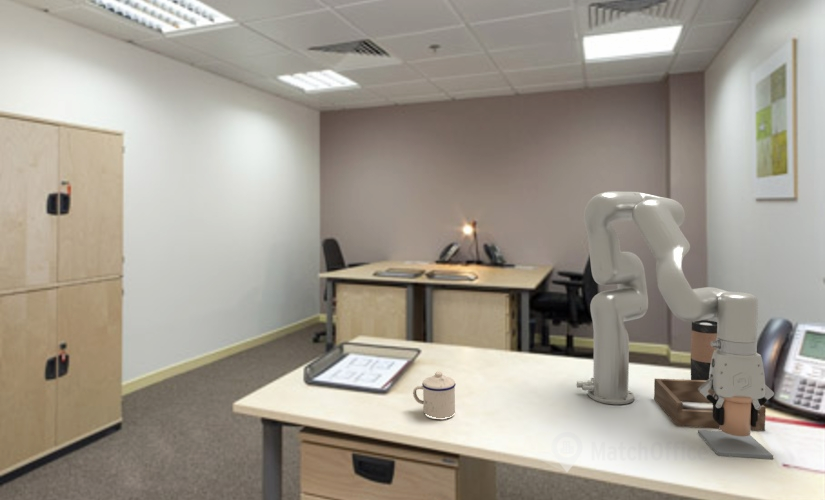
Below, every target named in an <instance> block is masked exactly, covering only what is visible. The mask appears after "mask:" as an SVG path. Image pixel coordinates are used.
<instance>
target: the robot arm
mask: <svg viewBox="0 0 825 500" xmlns="http://www.w3.org/2000/svg"><path fill="white" fill-rule="evenodd" d="M685 219H686V213H685V209H684V207H683V205H682V204H681V203H680V202H678V201H677V200H676V199H672V198H669V197H662V196H658V195H653V194H649V193H644V192H640V191H604V192H601V193H598V194H595V195H594V196H593V197H591V198H590V199H589V200H588V201H587V203H586V205H585V208H584V211H583V224H584V228H585V232H586V236H587V237H586V238H587V242H588V253H589V262H590V269H591V276H592V278H593V281H594V282H595V283H596V284H598V285H599V286H600V285H601V286H616V287H617V288H616V289H615V288H614V289H608V290H604V291H601V292H598V293H597V294H595V295H594V296H593V297H592V299H591V301H590V304H589V306H590V307H589V310H590V316H591V320H592V328H593V329H592V331H593V369H592V370H593V376H592V377H591V378H590V380H587V381H582V380H577V381H576V387H577V388H579V389H582V390H583V391H587V396H589V397H590V398H591V399H592V400H594V401H596V402H599V403H603V404H608V405H627V404H631V403H632V402H634V400H635V395H634V393H633V392H631V391H630V390H629V374H630V373H629V371H630V370H629V367H630V366H629V364H630V363H629V360H630V359H629V357H630V355H629V354H630V337H629V334H628V333H629V332H628V331H627V329H626V325H625V323H624V322H628V321H634V320H637V319H640V318H643V317H644V316H645V315H646V313H647V311H648V308H649V296H648V287H647V280H646V273H645V272H646V271H645V267H644V263H643V262H642V260H641V259H640V257H639V256H638V255H637V254H635V253H634V252H631V251H622V250H621V246H620V245H621V244H620V242H621V241H620V238H619V234H618V232H617V229H615V227H614V225H613V223H614V222H633V223H634V224H635V226H636V228H637V230H638V232H639V233H640V235H641V236H642V239H643V240H644V241H645V244H646V245H647V247H648V248H649V250H650V251H651V254H652V255H653V257H654V259H655V261H656V264H655V276H656V278H655V279H656V284H657V288H658V290H659V293H660V295H661V296H662V298H663V300H664V301H665V303H666V305H667V307H668V309H669V310H670V311H671V313H672V314H673V315H674V316H675V317H677V319H679V320H680V321H683V322H688V323H692V322H696V321H701V320H712V319H717V321H716V322H717V337H716V341H711V347H715V348H716V349H717V350H714V352H713V356H712V360H711V365H710V372H709V379H708V380H707V381H706V382H705V383H704V384H702V385H701V386H700V387H699V388H698V391H699V392H700V393H701V394H703V395H704V396H705V397H706V398H707V399H708V400H709V401H710V402H711V403H710V404H712V411H713V419H714V420H715V421H716V422H717V423H718V424H719V425H724V409H723V408H722V404H723V402H724V399H723V398H732V397H751V399H753V402H751V426H752V427H756V422H757V421H758V410H759V409H760V408H761V406H762V405H764V404H766V403H767V401H768V400H770V399H771V398H772V397H773V396H775V392H774V391H773V389H771V388H769V386H767V384H766V379H765V378H766V377H765V370H764V369H765V368H764V363H763V358H762V355H761V354H760V353H758V352H757V350H758V349H757V347H758V318H759V317H758V315H759V314H758V309H759V301H758V298H757V296H756V295H754V294H752V293H750V292H741V291H730V290H729V291H728V290H724V289H722V288H717V287H712V286H707V287H706V286H705V287H698V288H692V286H691V285H690V283H689V281H688V280H687V278H686V276H685V273H684V272H683V271H684V270H683V265H682V264H683V259H684V257H685V256H686V255H687V254H688V253H689V252H690V249H691V244H690V242H689V241H688V239H687V238H686V236H685V235H684V233H683V232H682V230H681V228H680V227H681V226H682V225H683V223H684V222H685ZM709 389H710V390H712V391H714V394H713V396H712V395H710V394H709V393H708V390H709Z"/></svg>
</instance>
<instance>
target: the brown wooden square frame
mask: <svg viewBox="0 0 825 500" xmlns="http://www.w3.org/2000/svg"><path fill="white" fill-rule="evenodd" d="M706 381H707V380H691V379H675V378H654V385H653V386H654V389H653V390H654V392H653V393H654V394H653V395H654V396H653V399H654V400H655V402H656V403H657V404H658V405H659V406H660V407H661V409H662V410H663V412H665V413H666V415H667V416H668V417H669V419H671V421H672V422H673V423H674V425H676V426H677V427H687V428H689V427H692V428H707V429H709V428H710V429H719V424H718V423H717V422H716V421H715V420H714V419H713V409H712V410H709V409H707V410H706V409H687V408H685V409H684V407H683V406H684V405H683V402H689V403H706V404H707V403H708V404H709V403H710V404H712V403H711V402H710V401H709V400H708V399H707V398H706V397H705V396H704V395H703V394H701V393H700V392H699V391H698V388H699V387H700V386H701V385H702V384H704V383H705V382H706ZM708 393H709V394H710V395H712V396H713V394H714V391H712V390H710V389H709V390H708ZM766 409H767V408H766V406H765V405H764V404H763V405H762V406H761V408H760V409H759V410H758V421H757V422H756V427H752V426H751V430H750V431H763V432H764V431H766V412H767V411H766Z"/></svg>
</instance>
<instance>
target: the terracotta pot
mask: <svg viewBox="0 0 825 500" xmlns="http://www.w3.org/2000/svg"><path fill="white" fill-rule="evenodd" d="M723 399H724V402H723V404H722V408H723V409H724V425H719V428H718V429H719V430H720V431H723V432H725V433H727V434H730V435H734V436H749V435H751V431H752V430H751V402H753V399H751V397H732V398H723Z"/></svg>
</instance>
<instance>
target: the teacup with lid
mask: <svg viewBox="0 0 825 500" xmlns="http://www.w3.org/2000/svg"><path fill="white" fill-rule="evenodd" d="M417 390H423V391H422V392H423V393H422V395H423V396H422V397H423V400H422V399H420V398H419V397H418V394H417ZM455 391H456V381H455V380H454V379H453V378H451V377H449V376H446V375H443V372H442V371H435V373H434V375H432V376H429V377H427V378H425V379H423V380H422V385H418V386H416V387H415V388H414V389H413V391H412V394H413V398H414V400H415V402H417V403H418V404H420V405H423V414H424V413H425V414H427V415H429V416H432V417H436V418H445V417H450V416H452V415H453V414H454V413H455V414H456V392H455Z"/></svg>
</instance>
